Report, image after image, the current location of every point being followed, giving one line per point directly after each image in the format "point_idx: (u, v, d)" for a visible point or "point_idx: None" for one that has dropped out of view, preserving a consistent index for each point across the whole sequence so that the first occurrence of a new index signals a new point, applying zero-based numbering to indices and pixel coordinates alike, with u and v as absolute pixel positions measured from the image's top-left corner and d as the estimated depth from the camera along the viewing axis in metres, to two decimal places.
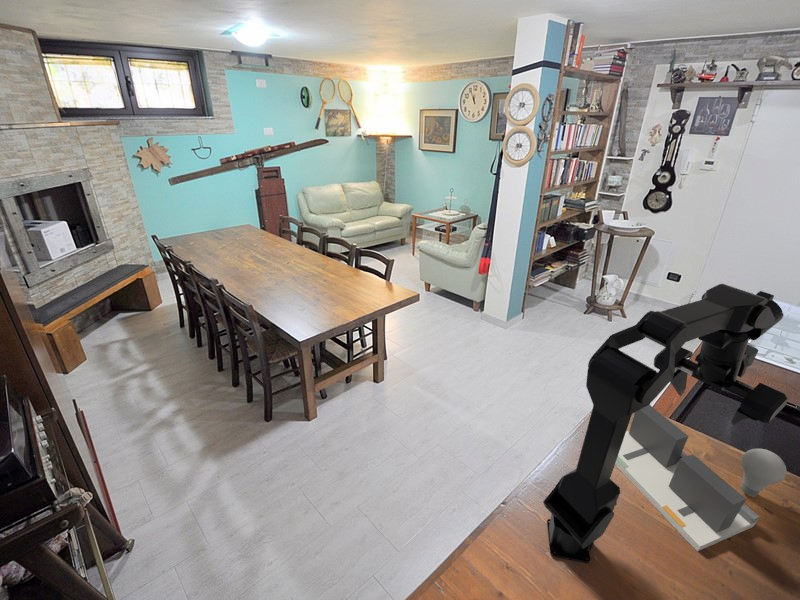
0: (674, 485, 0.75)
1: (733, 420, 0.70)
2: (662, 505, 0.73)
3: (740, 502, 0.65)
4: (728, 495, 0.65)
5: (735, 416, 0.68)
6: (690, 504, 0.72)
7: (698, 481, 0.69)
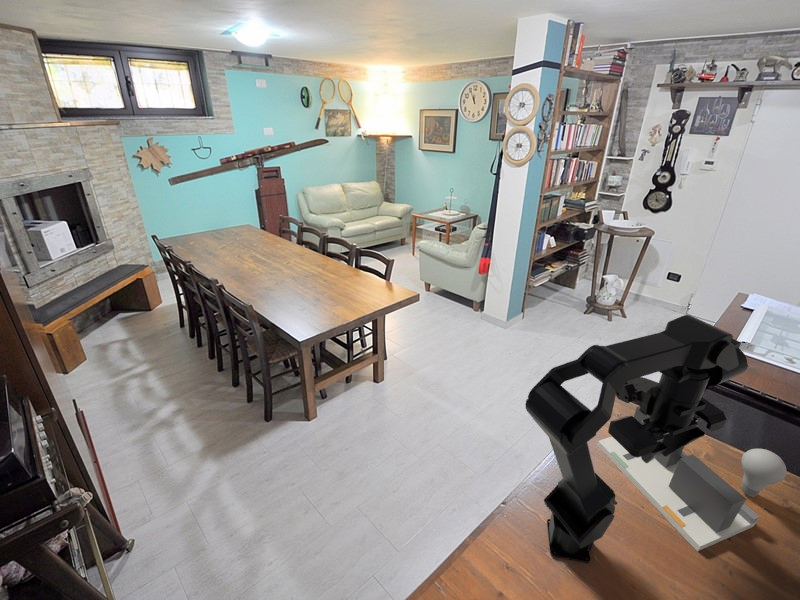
0: (674, 485, 0.75)
1: (673, 451, 0.67)
2: (662, 505, 0.73)
3: (740, 502, 0.65)
4: (728, 495, 0.65)
5: (682, 446, 0.66)
6: (690, 504, 0.72)
7: (698, 481, 0.69)
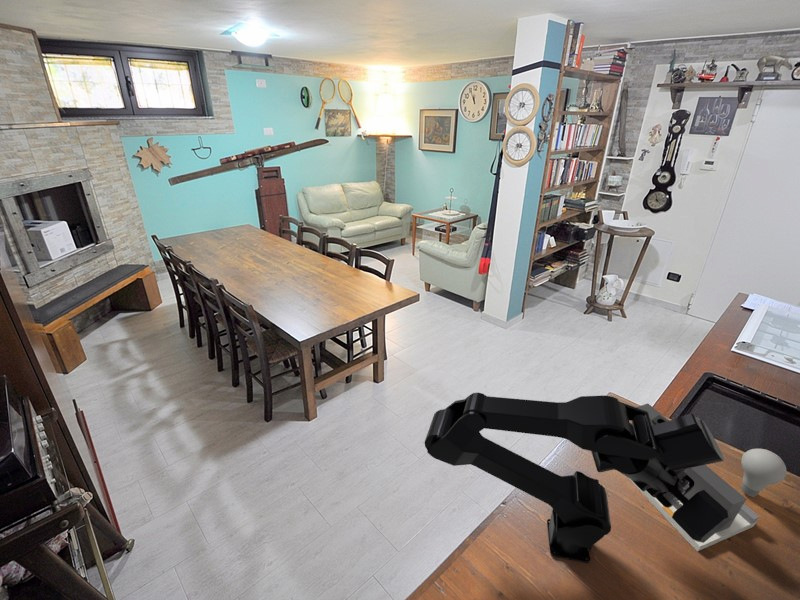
0: None
1: None
2: (662, 505, 0.73)
3: (740, 502, 0.65)
4: (728, 495, 0.65)
5: None
6: None
7: (698, 481, 0.69)
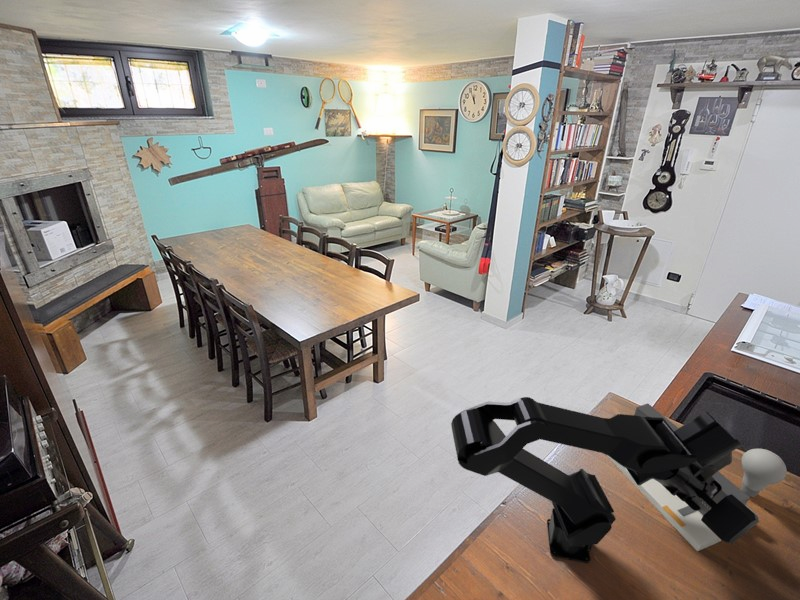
0: None
1: None
2: (662, 505, 0.73)
3: (744, 500, 0.65)
4: None
5: None
6: None
7: None
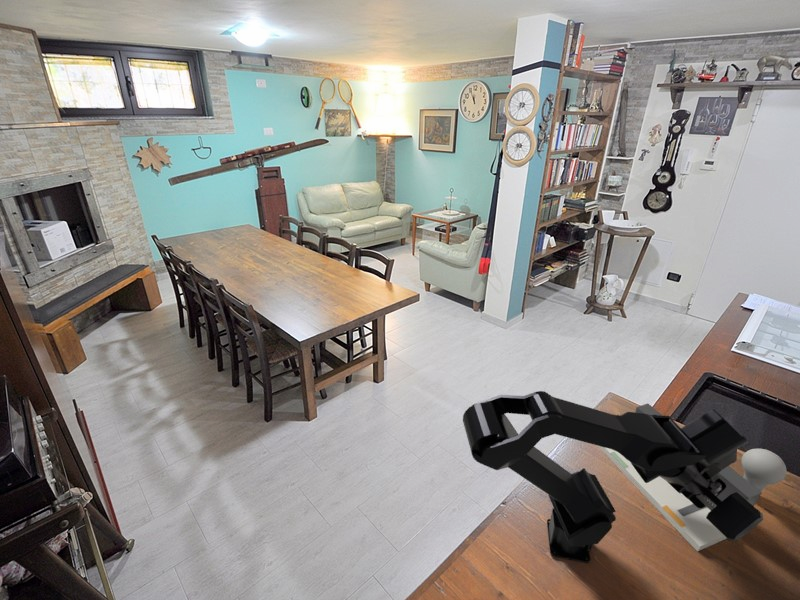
0: None
1: None
2: (662, 505, 0.73)
3: (756, 495, 0.65)
4: (744, 489, 0.66)
5: None
6: None
7: None
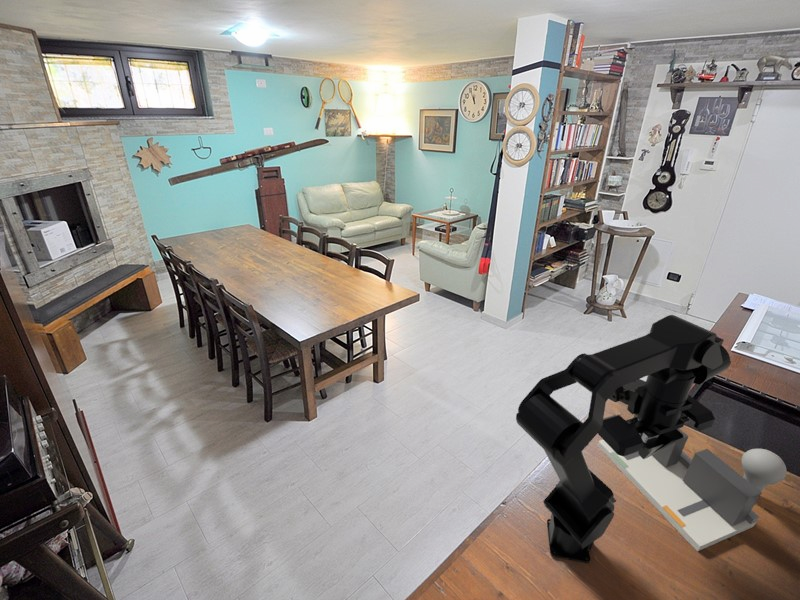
0: (688, 479, 0.75)
1: (653, 453, 0.67)
2: (662, 505, 0.73)
3: (756, 495, 0.65)
4: (744, 489, 0.66)
5: (661, 448, 0.65)
6: (705, 498, 0.73)
7: (713, 475, 0.70)
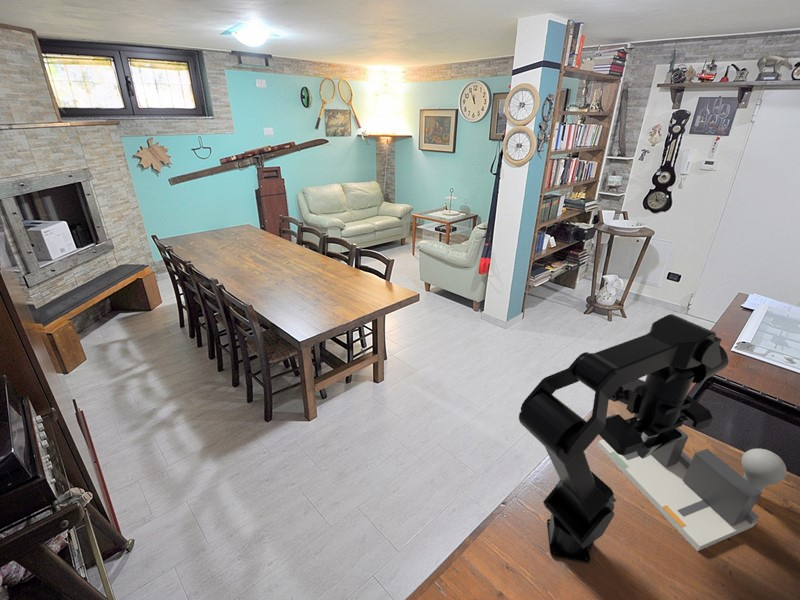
0: (688, 479, 0.75)
1: (651, 453, 0.67)
2: (662, 505, 0.73)
3: (756, 495, 0.65)
4: (744, 489, 0.66)
5: (660, 447, 0.66)
6: (705, 498, 0.73)
7: (713, 475, 0.70)
